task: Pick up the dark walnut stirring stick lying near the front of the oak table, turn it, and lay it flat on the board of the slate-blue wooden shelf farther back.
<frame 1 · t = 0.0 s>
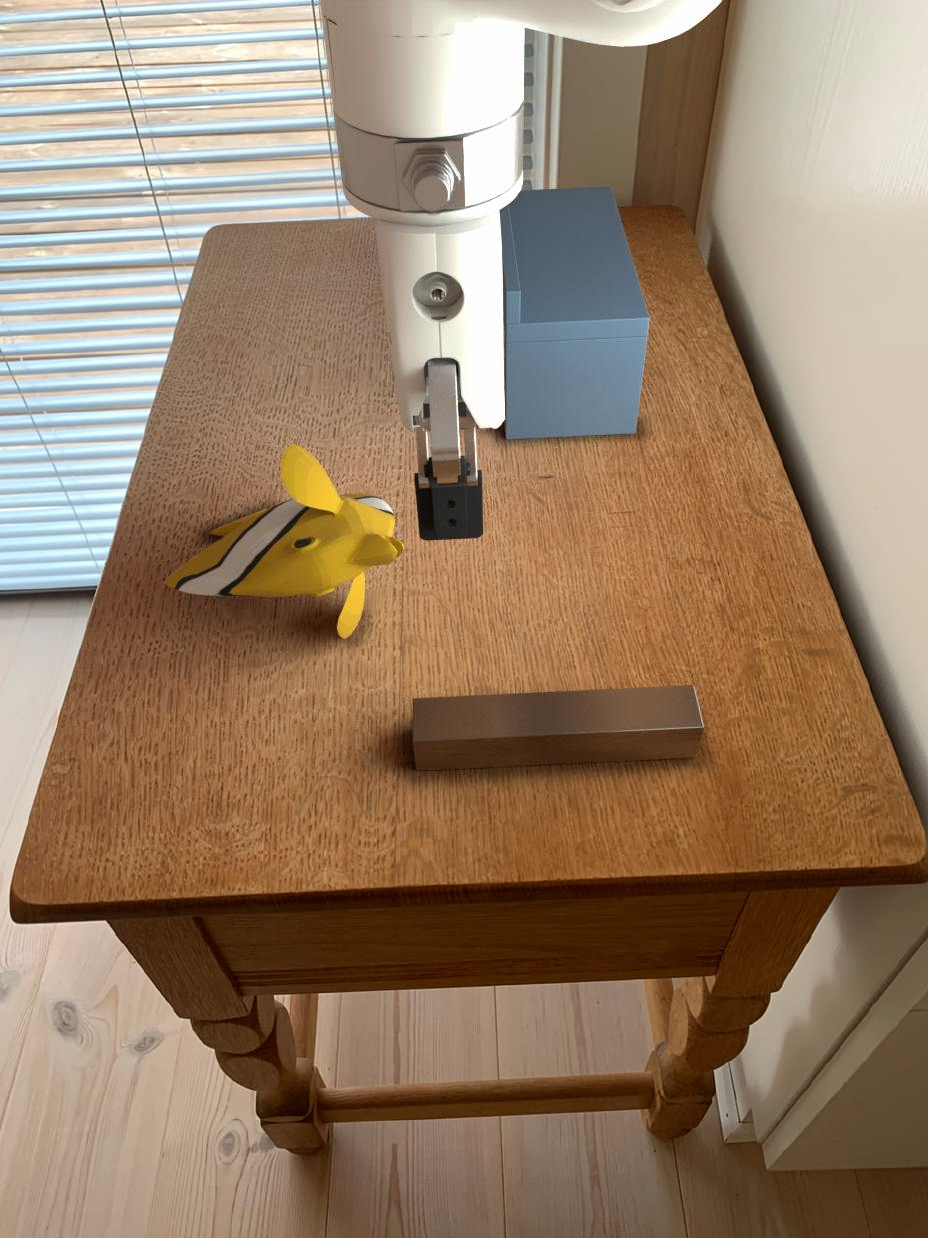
hand: (449, 472, 53), 13 cm above the table, tool pointing down, fingers open, 9 cm apart
fish: (296, 594, 66), on the table
stick: (554, 742, 57), on the table
shelf: (557, 361, 82), on the table
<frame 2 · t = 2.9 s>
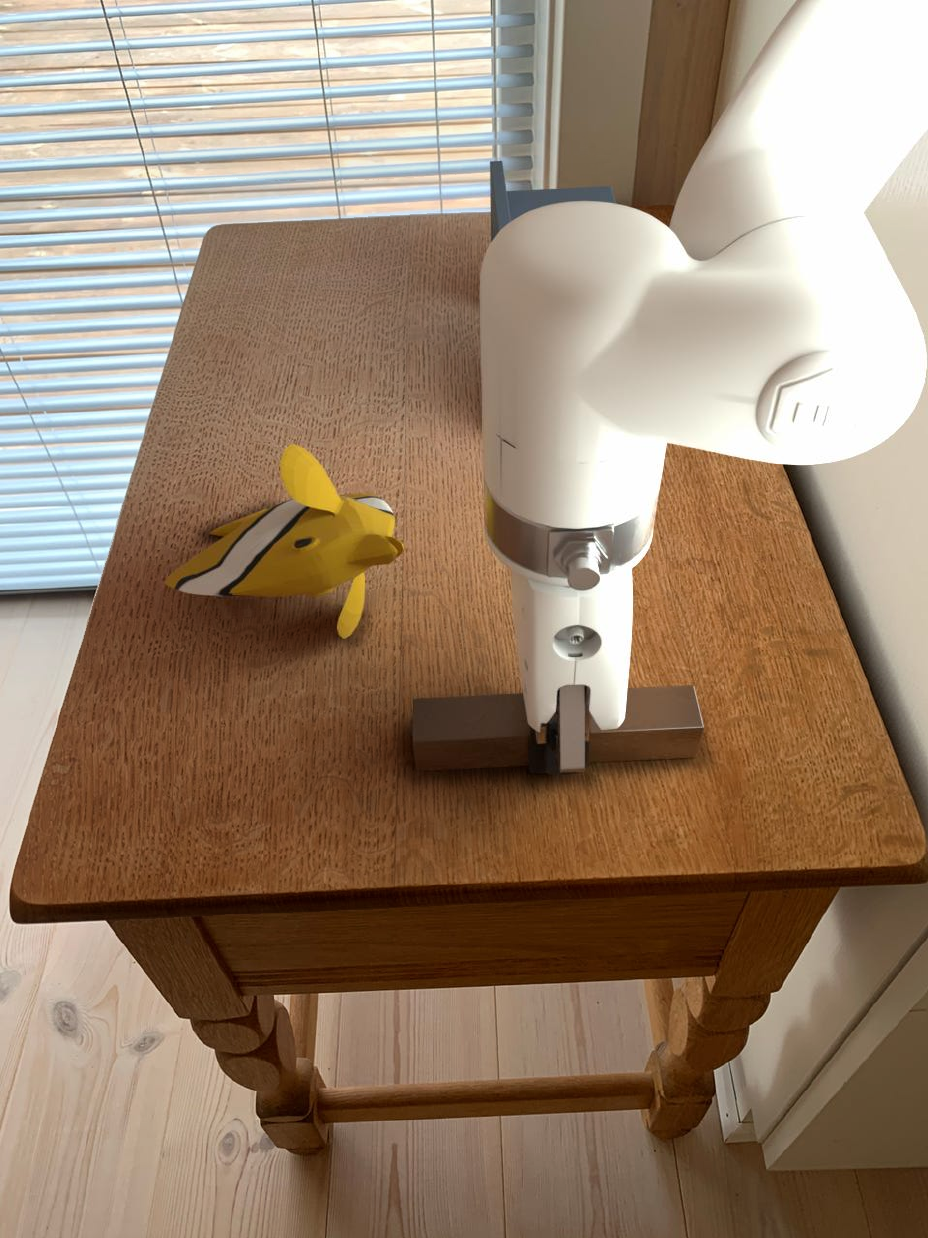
hand: (554, 738, 57), 0 cm above the table, tool pointing down, fingers closed on stick, 3 cm apart
stick: (553, 743, 57), on the table, touching gripper
everything else where it was.
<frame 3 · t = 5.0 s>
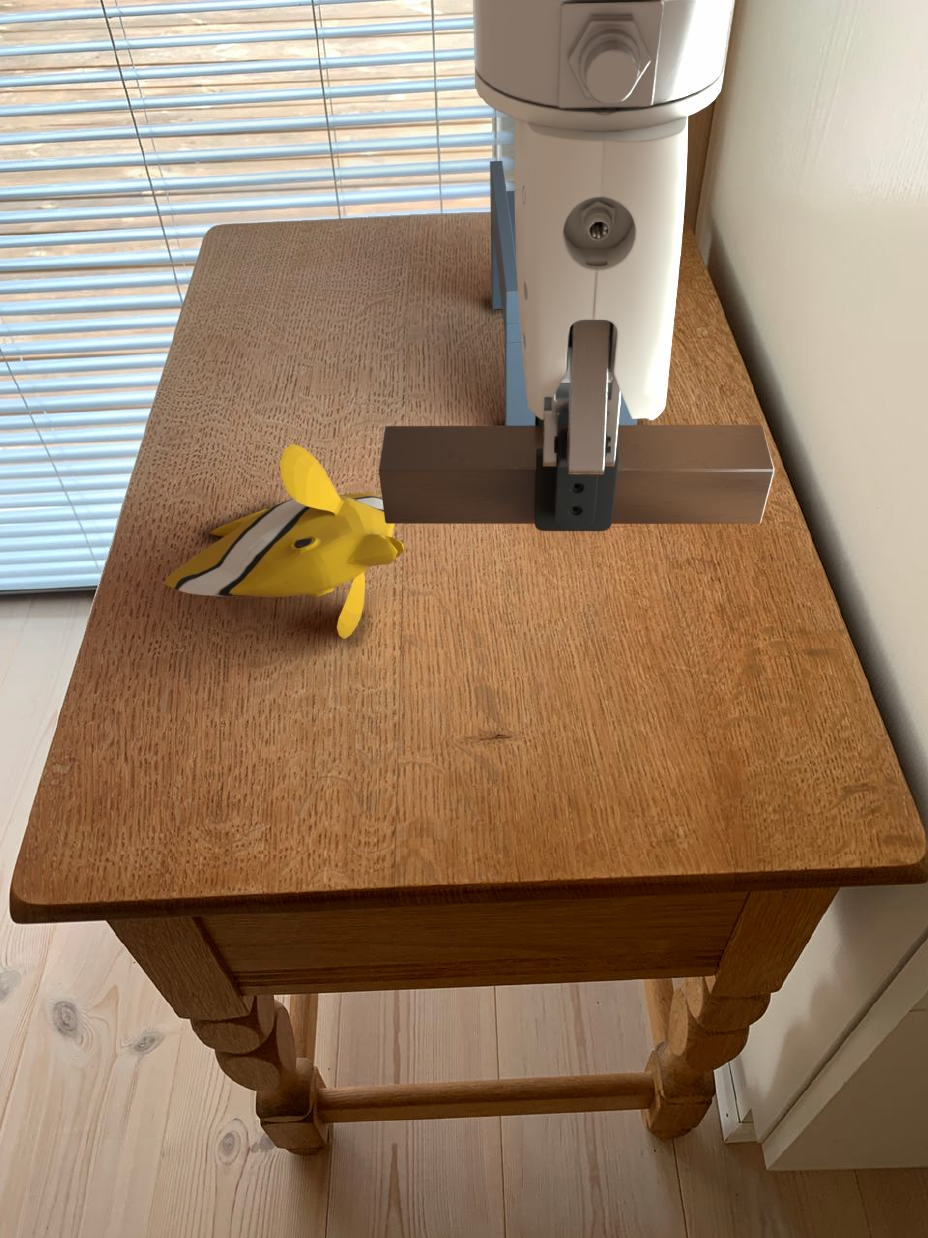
hand: (571, 493, 43), 19 cm above the table, tool pointing down, fingers closed on stick, 3 cm apart
stick: (570, 501, 43), point 19 cm above the table, touching gripper
everything else where it was.
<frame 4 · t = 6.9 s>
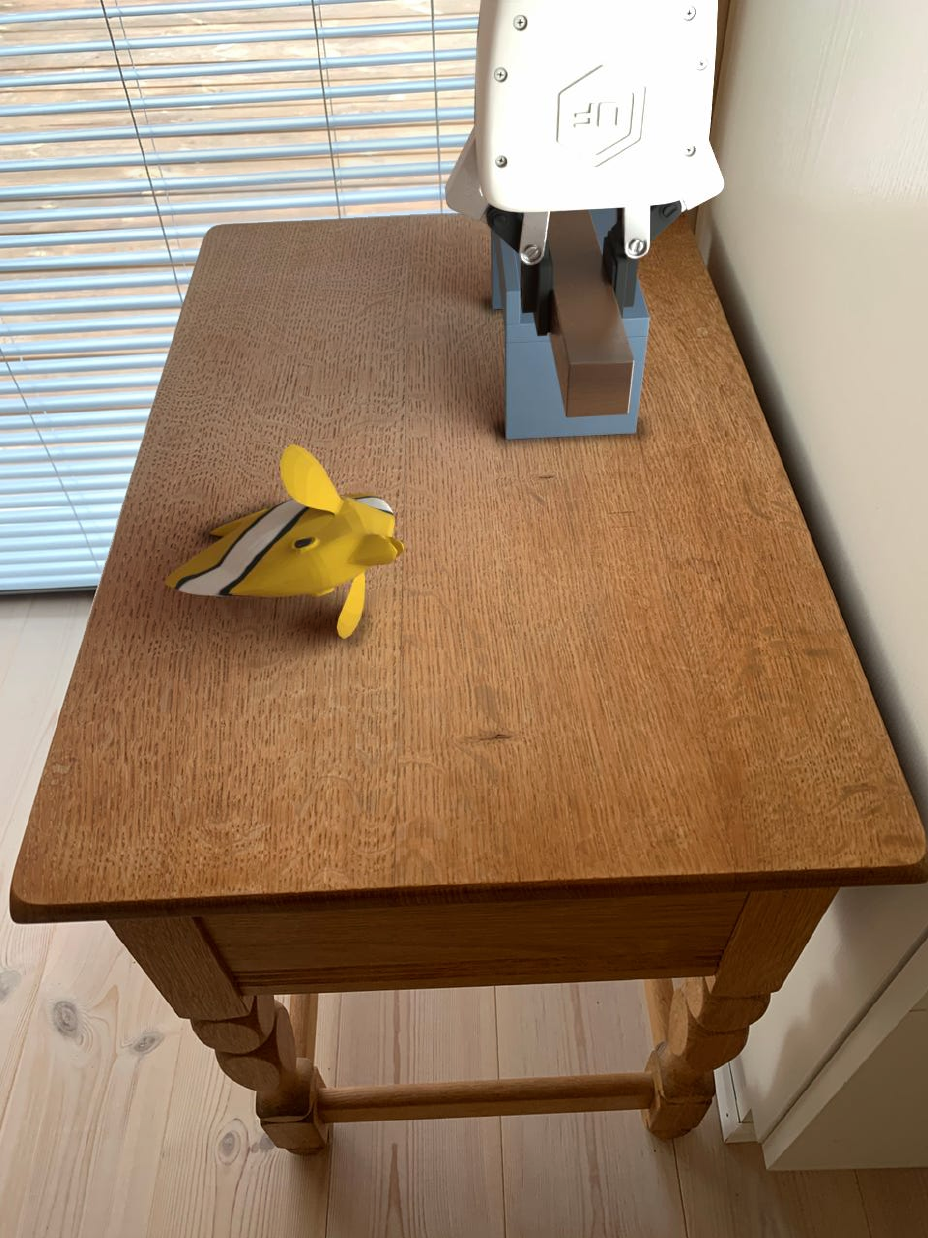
hand: (575, 316, 52), 19 cm above the table, tool pointing down, fingers closed on stick, 3 cm apart
stick: (574, 323, 52), point 19 cm above the table, touching gripper
everything else where it was.
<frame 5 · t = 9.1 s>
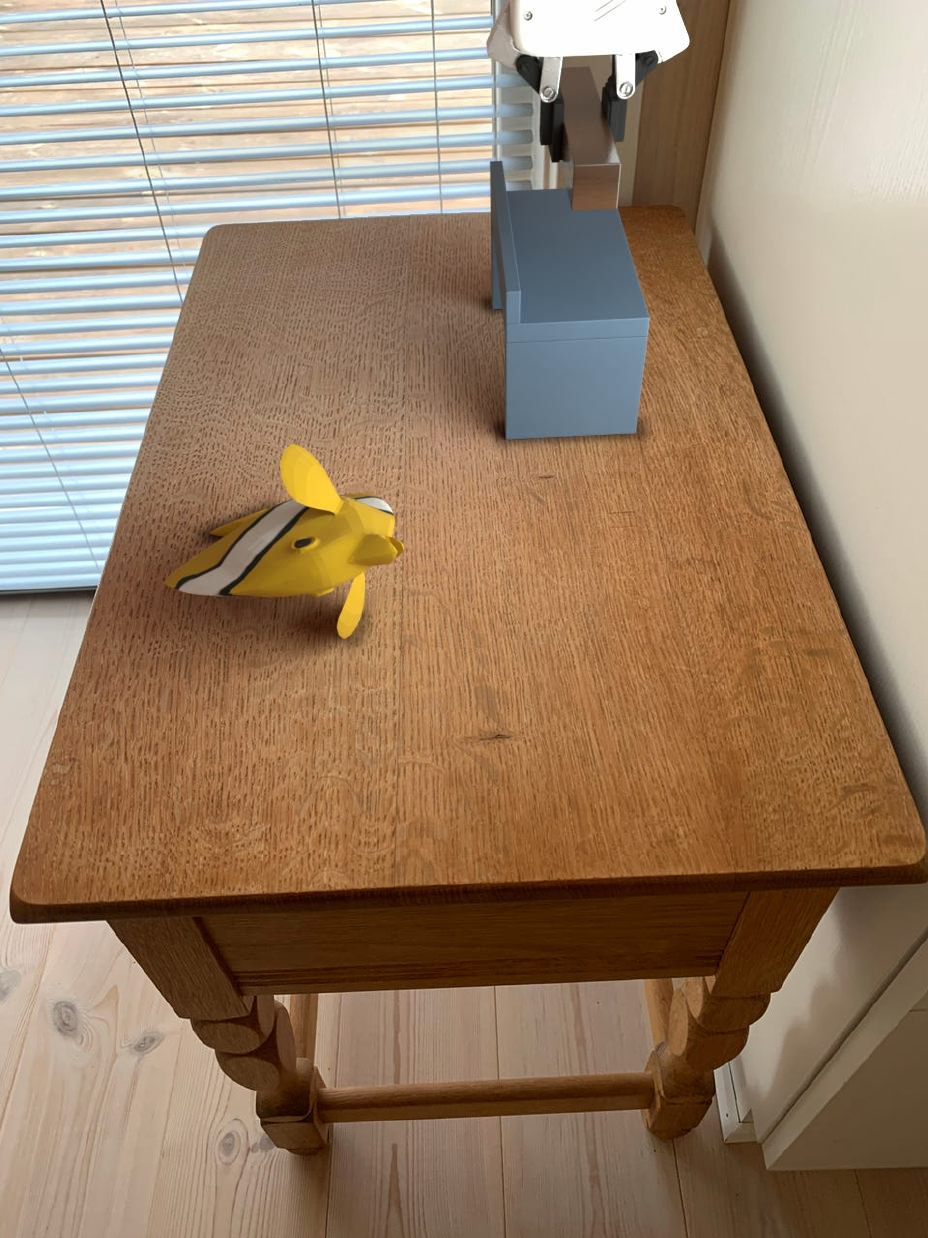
hand: (580, 150, 69), 17 cm above the table, tool pointing down, fingers closed on stick, 3 cm apart
stick: (580, 155, 69), point 17 cm above the table, touching gripper
everything else where it was.
when the fingers open (10 cm above the table, at t = 11.0 s): stick stays where it is, resting on shelf.
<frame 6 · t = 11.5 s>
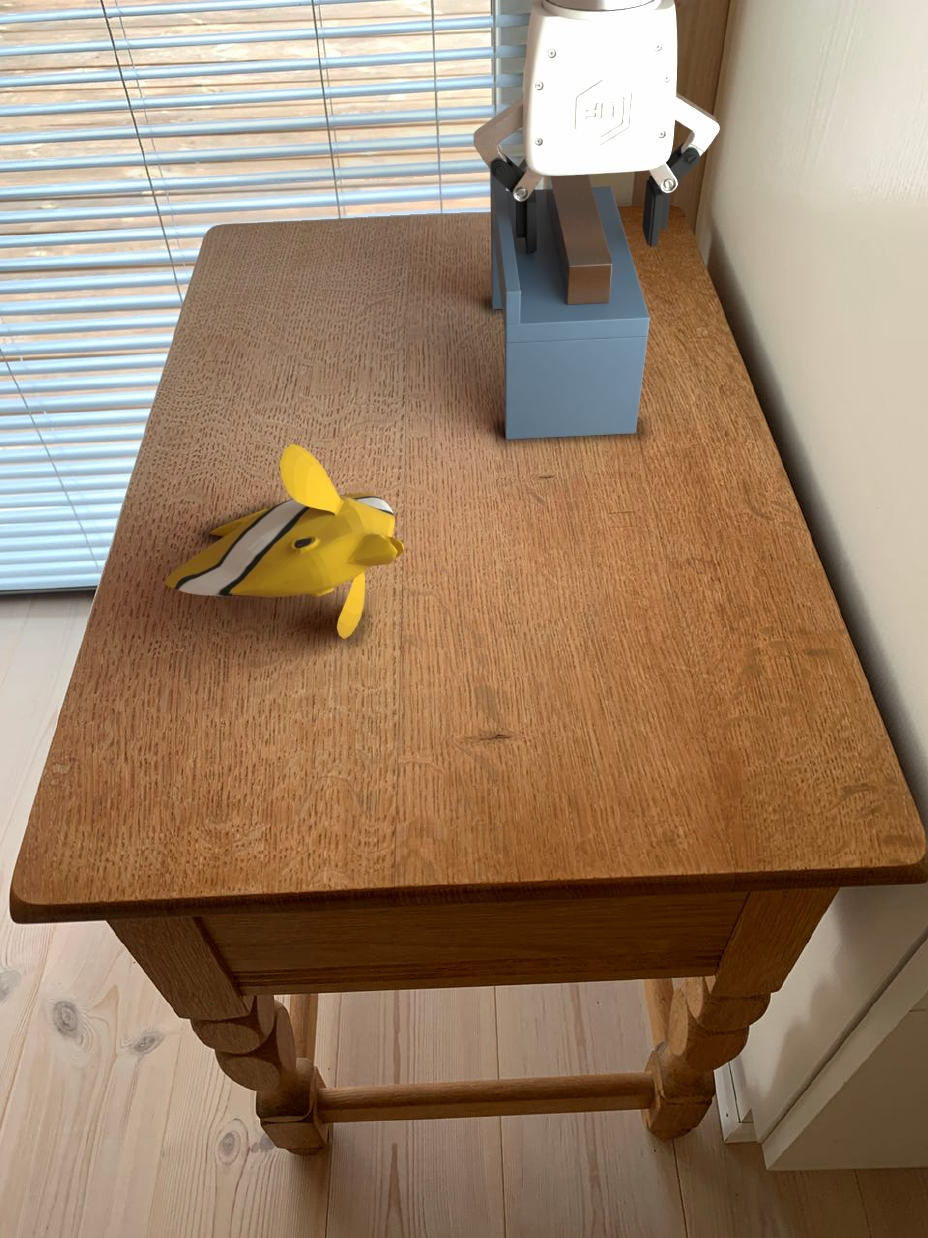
hand: (589, 240, 74), 11 cm above the table, tool pointing down, fingers open, 8 cm apart
stick: (575, 247, 75), point 10 cm above the table, touching shelf
everything else where it was.
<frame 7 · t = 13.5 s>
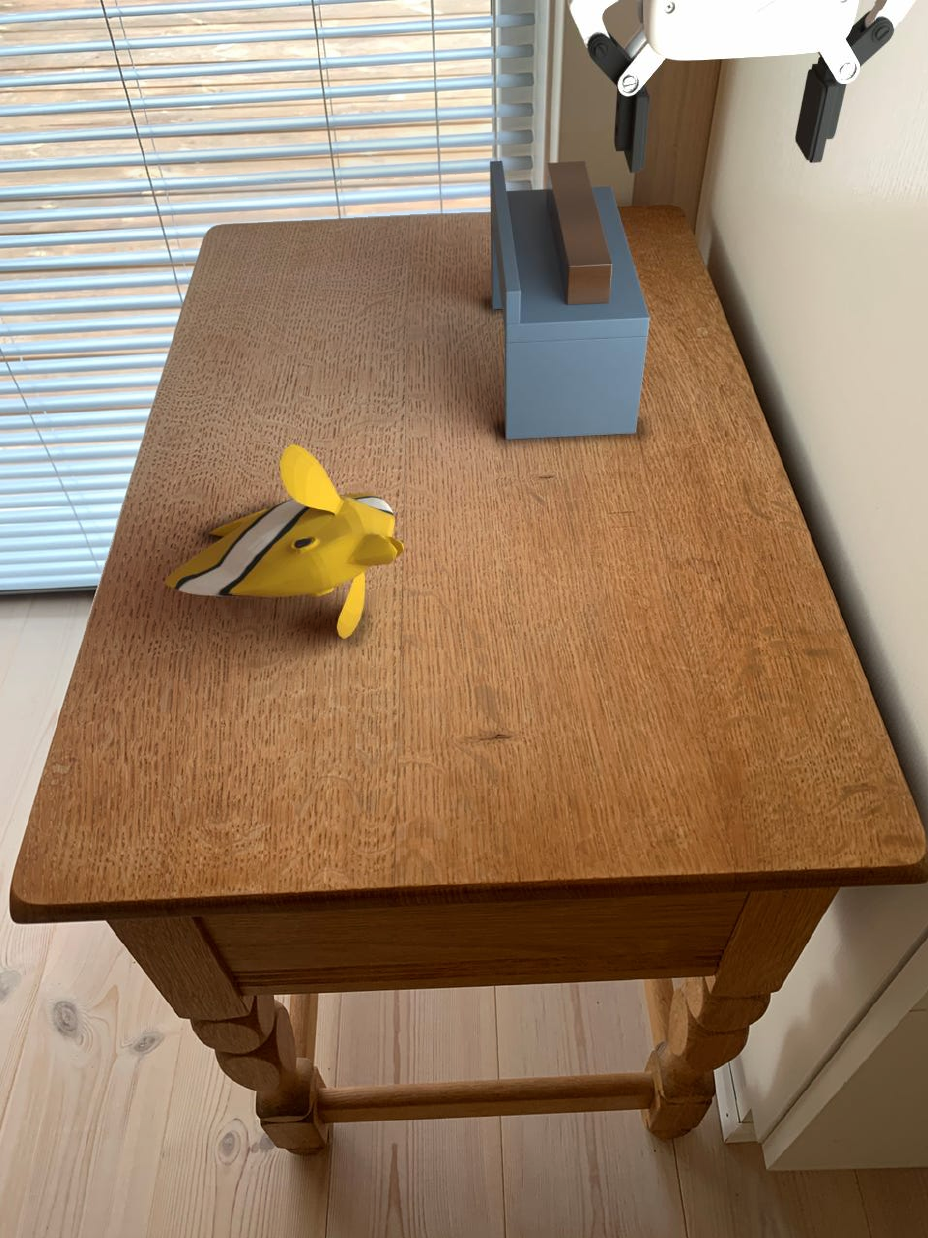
hand: (720, 157, 55), 23 cm above the table, tool pointing down, fingers open, 9 cm apart
nothing on the table moved.
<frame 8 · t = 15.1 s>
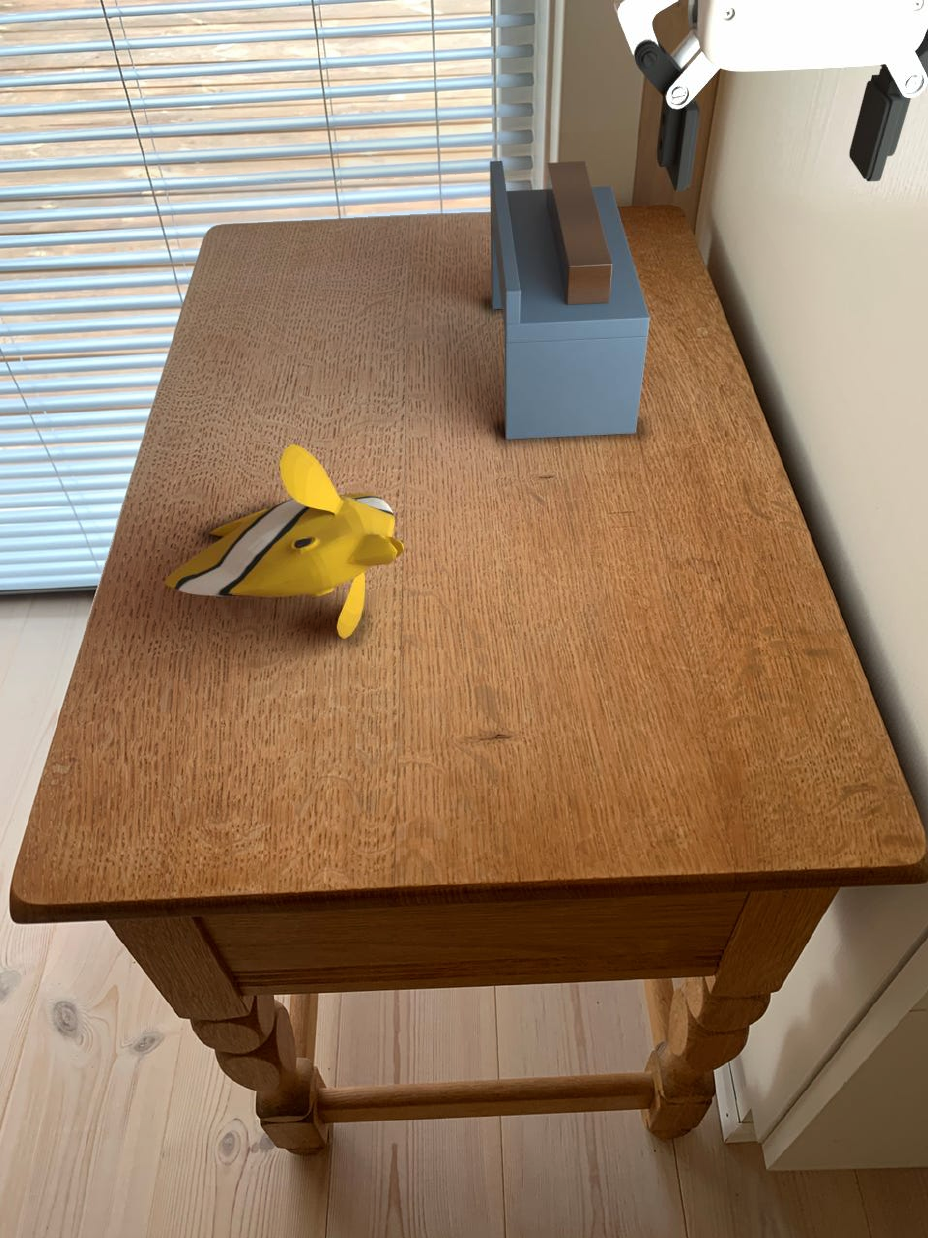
hand: (770, 174, 51), 24 cm above the table, tool pointing down, fingers open, 9 cm apart
nothing on the table moved.
at the end: stick inside the target area on the shelf (0.4 cm from its centre), point 10.0 cm above the shelf's base; stick tilted 0°; the gripper is holding nothing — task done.
